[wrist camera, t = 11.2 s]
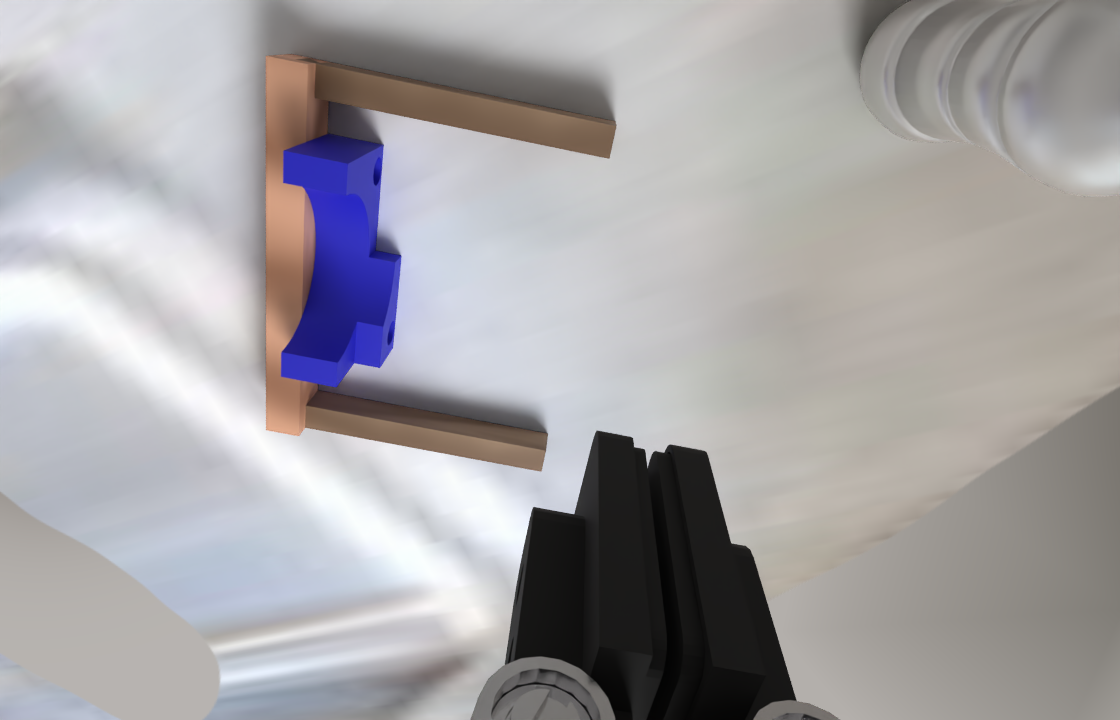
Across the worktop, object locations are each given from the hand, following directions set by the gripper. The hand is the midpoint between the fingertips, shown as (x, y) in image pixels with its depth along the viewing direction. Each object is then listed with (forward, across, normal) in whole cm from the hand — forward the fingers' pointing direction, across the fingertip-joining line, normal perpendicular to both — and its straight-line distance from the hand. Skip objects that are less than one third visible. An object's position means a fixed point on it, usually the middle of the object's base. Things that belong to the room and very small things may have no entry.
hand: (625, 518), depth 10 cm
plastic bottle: (+29, -14, -8) cm, 33 cm away
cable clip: (+30, +13, +7) cm, 33 cm away
